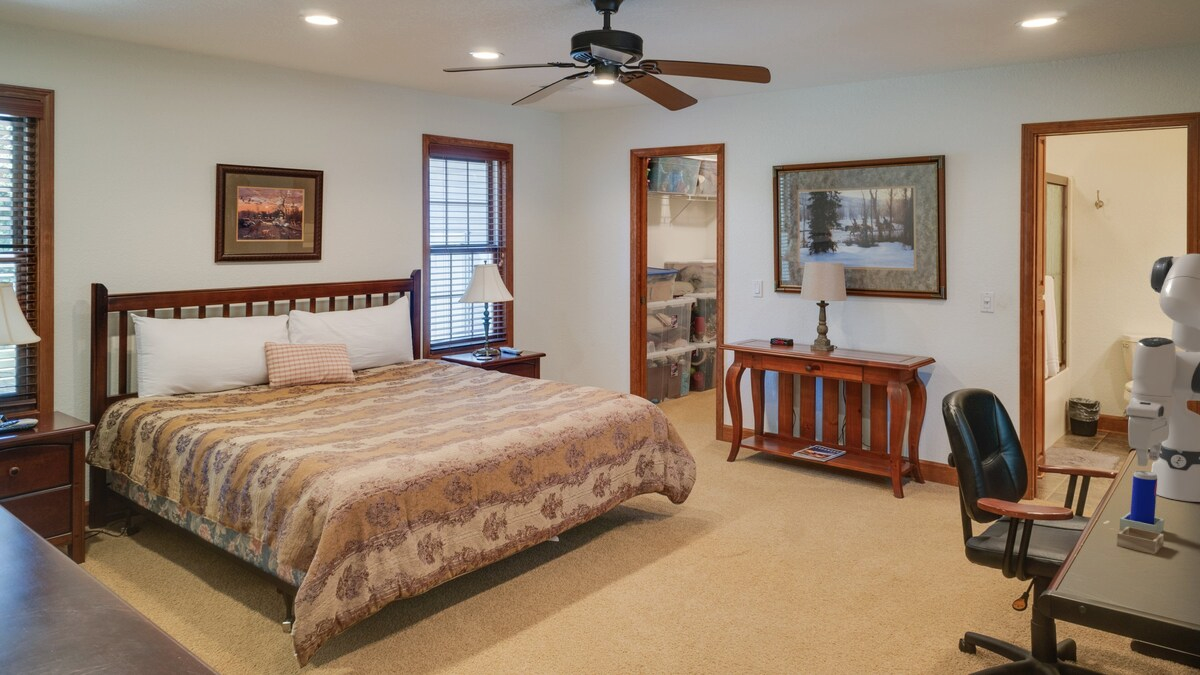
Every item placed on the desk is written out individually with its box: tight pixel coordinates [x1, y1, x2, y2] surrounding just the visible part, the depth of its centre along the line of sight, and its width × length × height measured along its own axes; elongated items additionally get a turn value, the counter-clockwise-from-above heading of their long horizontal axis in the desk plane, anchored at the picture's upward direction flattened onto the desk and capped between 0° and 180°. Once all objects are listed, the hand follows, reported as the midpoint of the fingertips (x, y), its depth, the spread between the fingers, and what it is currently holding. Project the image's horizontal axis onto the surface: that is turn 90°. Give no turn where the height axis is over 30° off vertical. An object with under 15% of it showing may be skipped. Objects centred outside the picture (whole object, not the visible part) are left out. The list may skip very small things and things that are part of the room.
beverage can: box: [1130, 470, 1157, 525], centre depth 214 cm, size 5×5×15 cm
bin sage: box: [1118, 511, 1165, 534], centre depth 214 cm, size 8×8×3 cm
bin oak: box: [1116, 526, 1165, 555], centre depth 203 cm, size 8×8×3 cm
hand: (1148, 462), depth 202 cm, fingers open, 8 cm apart
